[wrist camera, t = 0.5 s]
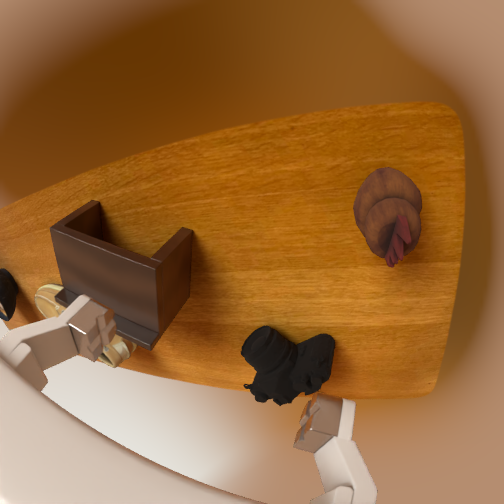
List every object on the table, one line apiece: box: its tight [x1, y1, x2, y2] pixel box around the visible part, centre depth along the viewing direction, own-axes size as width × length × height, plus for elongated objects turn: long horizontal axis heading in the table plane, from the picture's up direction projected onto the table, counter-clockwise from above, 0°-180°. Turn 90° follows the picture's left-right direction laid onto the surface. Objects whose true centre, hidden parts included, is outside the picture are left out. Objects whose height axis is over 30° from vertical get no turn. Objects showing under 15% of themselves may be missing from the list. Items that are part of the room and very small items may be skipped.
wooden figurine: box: [353, 167, 422, 268], centre depth 25 cm, size 7×6×15 cm
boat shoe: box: [34, 284, 138, 368], centre depth 56 cm, size 10×29×11 cm, turn 87°
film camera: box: [241, 326, 335, 406], centre depth 43 cm, size 15×10×9 cm, turn 134°
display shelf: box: [50, 200, 193, 351], centre depth 41 cm, size 12×18×12 cm, turn 81°
